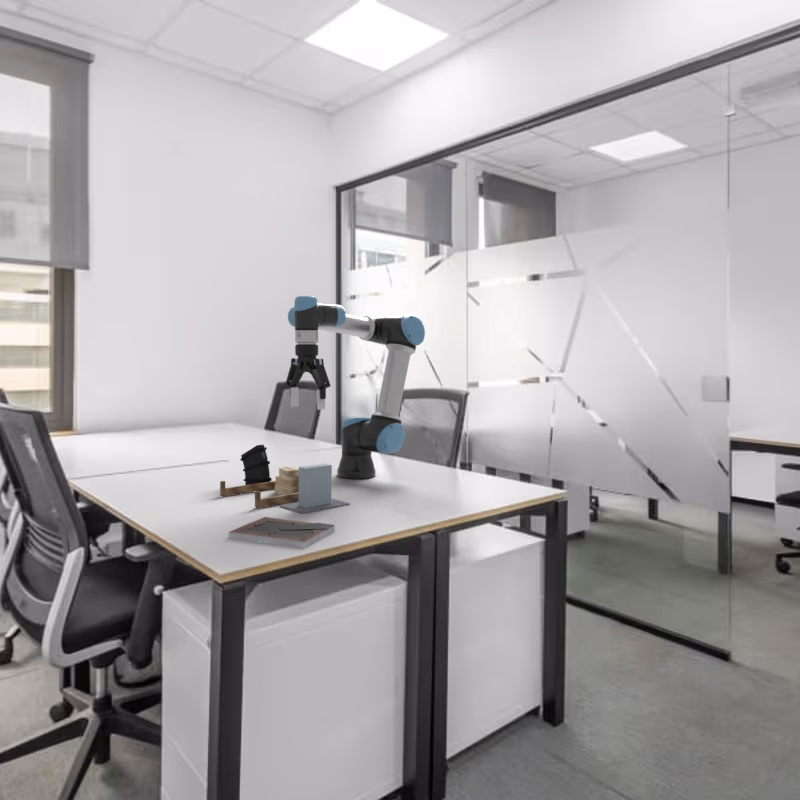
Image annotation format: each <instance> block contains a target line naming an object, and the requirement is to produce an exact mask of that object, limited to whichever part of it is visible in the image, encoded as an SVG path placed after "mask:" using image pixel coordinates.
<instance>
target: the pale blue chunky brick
mask: <svg viewBox="0 0 800 800" xmlns="http://www.w3.org/2000/svg"><path fill="white" fill-rule="evenodd" d="M332 466H333V465H332V464H328V463H319V464H312V465H304V466H298V469H299V501H298V502H299V506H301V507H304V508H307V507H312V506H318V505H323V504H328V503H331V498H332V477H333V475H332V472H333V471H332V469H333V467H332Z"/></svg>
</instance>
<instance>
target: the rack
mask: <svg viewBox="0 0 800 800" xmlns="http://www.w3.org/2000/svg"><path fill="white" fill-rule="evenodd" d="M275 485H276V480H272V481H270V482H264V483H257V484H250V485H238V486H232V487H231V486H230V487H226V481H225V480H220V481H219V491H220V492H219V496H225V497H228V496H227V495H232V496H234V495H233V494H238V495H241V494H240V493H245V494H248V493H247V492H251V493H254V508H255V507H256V508H255V509H260V508H259V507H263V508H267V507H266V506H269V507H273V506H272V505H274V506H278V504H280V505H285V504H290V503H296V501H297V502H299V492H298V493H292V494H286V495H281V494H279V495H275V496H269V497H263V498H261V497H262V496H261V492H262V491H259V490H264V491H267V490H266V489H270V490H275V489H274V488H275ZM253 491H256V492H253ZM284 503H285V504H284Z"/></svg>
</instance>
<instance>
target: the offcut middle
mask: <svg viewBox="0 0 800 800" xmlns="http://www.w3.org/2000/svg"><path fill="white" fill-rule="evenodd" d="M275 481H276V485H277V486H280V487H284V488H287V489H297V488H299V479H293V480H286V479H283V478H281V477H279V475H275Z"/></svg>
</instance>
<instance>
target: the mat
mask: <svg viewBox="0 0 800 800" xmlns="http://www.w3.org/2000/svg"><path fill="white" fill-rule="evenodd" d="M349 504H350V505H351V503H350V502H346V501H342V500H339V499H335V498H332V497H331V503H328V504H323V505H318V506H312V507H307V508H304V507H301V506H299V501H297V502H291V503H285V504H280V505H279V507H280V508H282V507H283V508H282V509H286V510H289V511H292V510H293V511H292V512H295V511H296V513H299V514H301V515H304V514H310V513H314V511H315V512H319V510H320V511H325V510H330V509H334V507H335V508H340V507H345V506H350V505H349ZM344 505H345V506H344ZM339 506H340V507H339ZM329 508H330V509H329ZM324 509H325V510H324ZM309 512H310V513H309Z"/></svg>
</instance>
